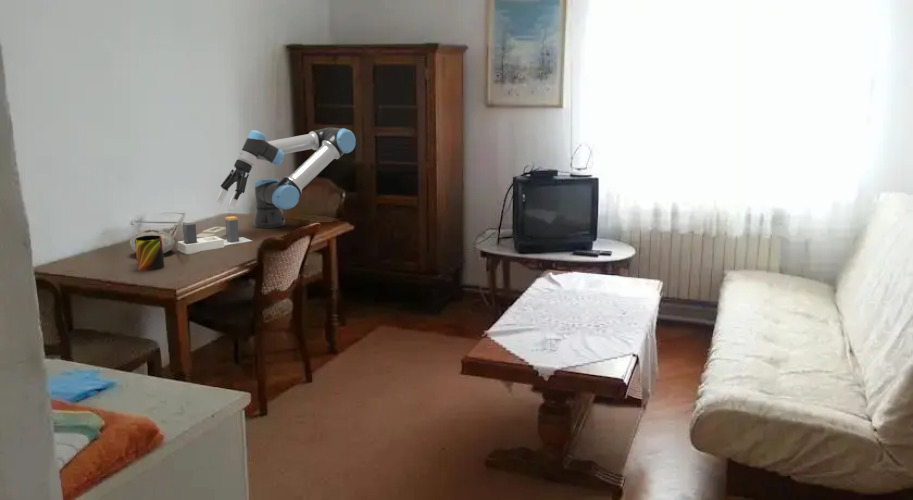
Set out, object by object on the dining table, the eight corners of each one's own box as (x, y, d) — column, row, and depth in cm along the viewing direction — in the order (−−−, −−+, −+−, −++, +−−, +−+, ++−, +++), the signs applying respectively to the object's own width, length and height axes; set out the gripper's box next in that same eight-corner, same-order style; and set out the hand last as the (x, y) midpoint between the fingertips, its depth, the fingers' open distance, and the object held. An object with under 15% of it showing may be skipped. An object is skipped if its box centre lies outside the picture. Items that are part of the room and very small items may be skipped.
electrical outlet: (192, 234, 351) (215, 226, 368) (192, 243, 352) (215, 234, 369) (206, 235, 349) (228, 227, 366) (206, 244, 350) (229, 235, 367)
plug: (235, 239, 354) (233, 216, 351) (239, 241, 351) (237, 217, 348) (226, 241, 351) (225, 217, 349) (230, 242, 348) (229, 218, 346)
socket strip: (215, 244, 347) (213, 216, 344) (224, 248, 340) (222, 219, 337) (178, 250, 336) (175, 221, 333) (186, 254, 329) (183, 224, 326)
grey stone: (182, 249, 339) (180, 226, 336) (164, 259, 321) (162, 236, 319) (143, 248, 340) (141, 226, 338) (123, 258, 323) (120, 235, 320)
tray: (242, 238, 359) (242, 237, 359) (252, 241, 352) (252, 240, 352) (213, 242, 351) (213, 241, 350) (223, 246, 343) (223, 245, 343)
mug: (138, 263, 316) (135, 234, 313) (169, 265, 313) (166, 235, 310) (123, 269, 306) (120, 239, 304) (155, 271, 304) (152, 241, 301)
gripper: (226, 156, 365) (206, 197, 362) (250, 160, 346) (229, 203, 343) (240, 164, 370) (220, 204, 367) (264, 168, 351) (243, 210, 348)
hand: (224, 204), depth 355 cm, fingers open, 13 cm apart
